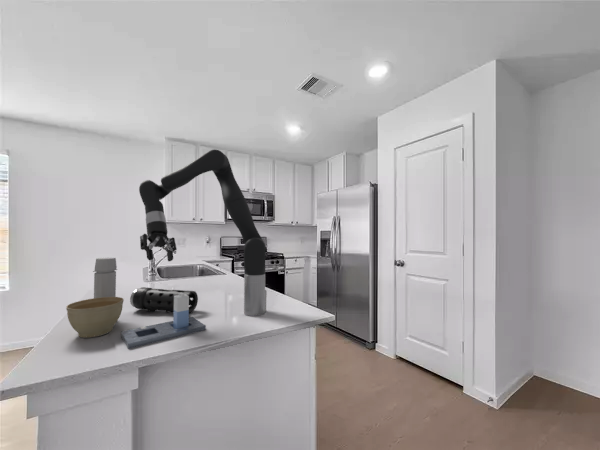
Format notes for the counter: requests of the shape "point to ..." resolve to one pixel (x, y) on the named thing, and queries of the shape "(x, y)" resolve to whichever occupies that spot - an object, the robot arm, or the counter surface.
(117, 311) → the planter bowl
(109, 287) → the water bottle
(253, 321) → the counter surface
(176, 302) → the plug
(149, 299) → the muzzle brake
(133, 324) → the counter surface
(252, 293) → the robot arm
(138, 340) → the panel
